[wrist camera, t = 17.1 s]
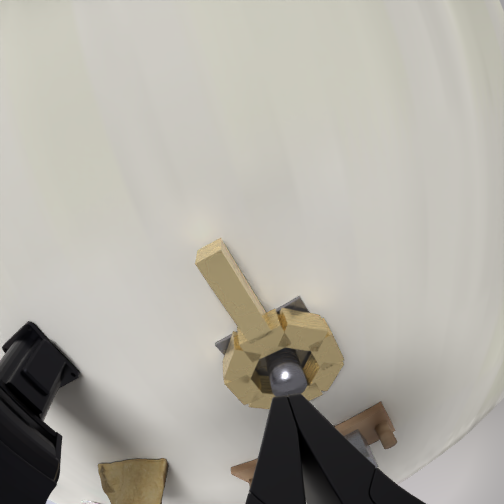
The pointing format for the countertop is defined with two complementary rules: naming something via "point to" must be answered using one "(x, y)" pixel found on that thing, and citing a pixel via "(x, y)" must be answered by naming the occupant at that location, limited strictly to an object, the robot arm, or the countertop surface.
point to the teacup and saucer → (88, 501)
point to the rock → (134, 481)
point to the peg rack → (368, 423)
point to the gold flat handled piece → (265, 333)
